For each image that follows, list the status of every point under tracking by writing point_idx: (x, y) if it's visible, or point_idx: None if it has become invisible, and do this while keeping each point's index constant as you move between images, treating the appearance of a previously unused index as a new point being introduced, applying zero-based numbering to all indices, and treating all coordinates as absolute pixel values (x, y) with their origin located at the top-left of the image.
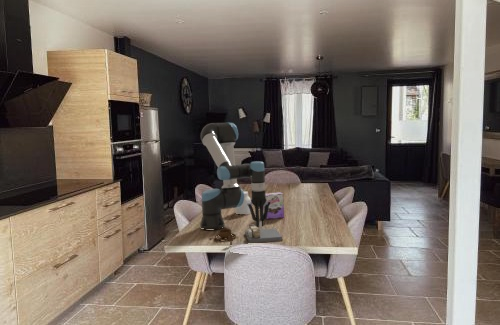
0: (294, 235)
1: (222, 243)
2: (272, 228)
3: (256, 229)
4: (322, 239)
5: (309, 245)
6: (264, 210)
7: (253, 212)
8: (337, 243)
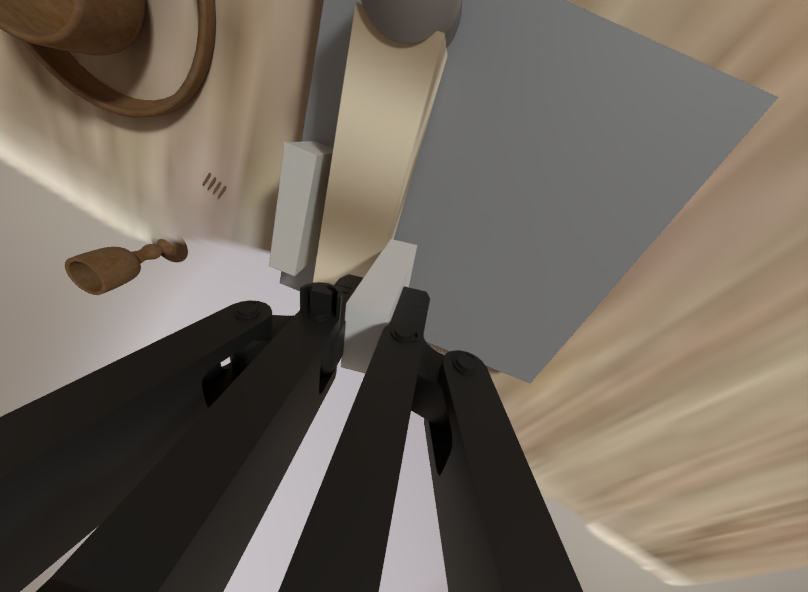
0: (709, 338)
1: (97, 150)
2: (732, 81)
3: (362, 247)
4: (732, 488)
5: (568, 491)
6: (486, 562)
7: (94, 514)
8: (702, 546)
